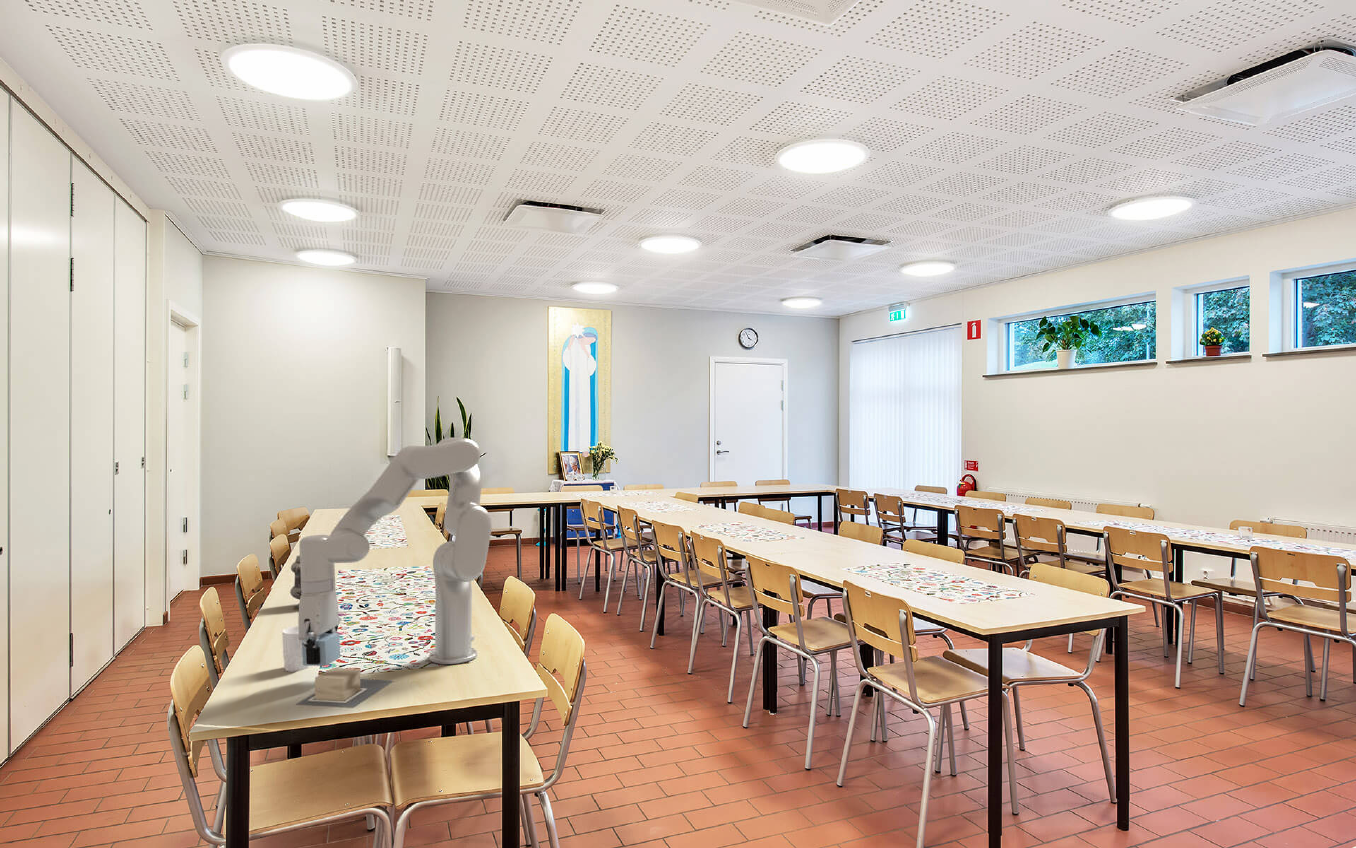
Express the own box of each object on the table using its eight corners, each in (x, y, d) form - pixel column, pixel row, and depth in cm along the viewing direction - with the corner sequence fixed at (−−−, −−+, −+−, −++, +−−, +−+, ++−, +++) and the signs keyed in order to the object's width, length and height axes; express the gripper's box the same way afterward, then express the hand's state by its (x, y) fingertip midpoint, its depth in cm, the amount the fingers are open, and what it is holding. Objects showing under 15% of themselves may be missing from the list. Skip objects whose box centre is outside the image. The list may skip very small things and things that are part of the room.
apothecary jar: (323, 601, 272) (323, 551, 272) (332, 607, 262) (333, 555, 263) (286, 606, 264) (286, 554, 264) (294, 612, 255) (295, 559, 255)
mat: (340, 679, 188) (340, 677, 188) (393, 682, 186) (394, 680, 186) (295, 706, 170) (295, 704, 170) (353, 709, 168) (353, 707, 168)
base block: (332, 688, 180) (332, 668, 180) (360, 690, 179) (360, 669, 179) (315, 699, 173) (315, 677, 173) (343, 701, 172) (343, 679, 172)
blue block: (317, 657, 189) (316, 633, 188) (340, 657, 188) (339, 633, 188) (303, 665, 183) (301, 641, 182) (326, 665, 182) (324, 641, 182)
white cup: (307, 661, 202) (307, 624, 202) (321, 667, 197) (321, 629, 197) (276, 668, 196) (276, 630, 196) (290, 675, 191) (290, 635, 191)
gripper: (325, 578, 194) (328, 647, 194) (281, 595, 177) (285, 671, 177) (352, 578, 193) (355, 647, 193) (311, 595, 176) (314, 671, 176)
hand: (321, 658), depth 185 cm, fingers closed on blue block, 6 cm apart
